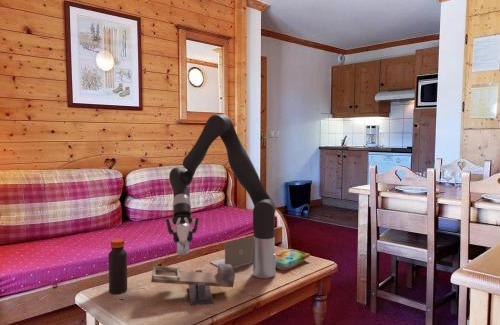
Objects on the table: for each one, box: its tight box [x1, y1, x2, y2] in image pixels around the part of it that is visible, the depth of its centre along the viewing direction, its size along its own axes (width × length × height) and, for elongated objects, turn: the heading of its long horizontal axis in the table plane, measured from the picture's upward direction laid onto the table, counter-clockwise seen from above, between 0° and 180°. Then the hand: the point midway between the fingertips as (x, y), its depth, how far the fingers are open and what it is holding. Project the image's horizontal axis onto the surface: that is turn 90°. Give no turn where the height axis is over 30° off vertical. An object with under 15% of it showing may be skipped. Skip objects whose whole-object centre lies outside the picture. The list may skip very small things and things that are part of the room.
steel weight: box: [176, 223, 190, 256], centre depth 154 cm, size 5×5×12 cm
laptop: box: [210, 235, 254, 269], centre depth 180 cm, size 18×12×13 cm
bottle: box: [107, 238, 128, 295], centre depth 146 cm, size 7×7×20 cm
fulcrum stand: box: [188, 269, 214, 307], centre depth 143 cm, size 8×16×7 cm, turn 12°
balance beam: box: [150, 264, 236, 288], centre depth 142 cm, size 30×10×5 cm, turn 102°
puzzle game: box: [274, 248, 311, 272], centre depth 180 cm, size 12×5×20 cm
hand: (183, 241), depth 153 cm, fingers closed on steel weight, 5 cm apart
